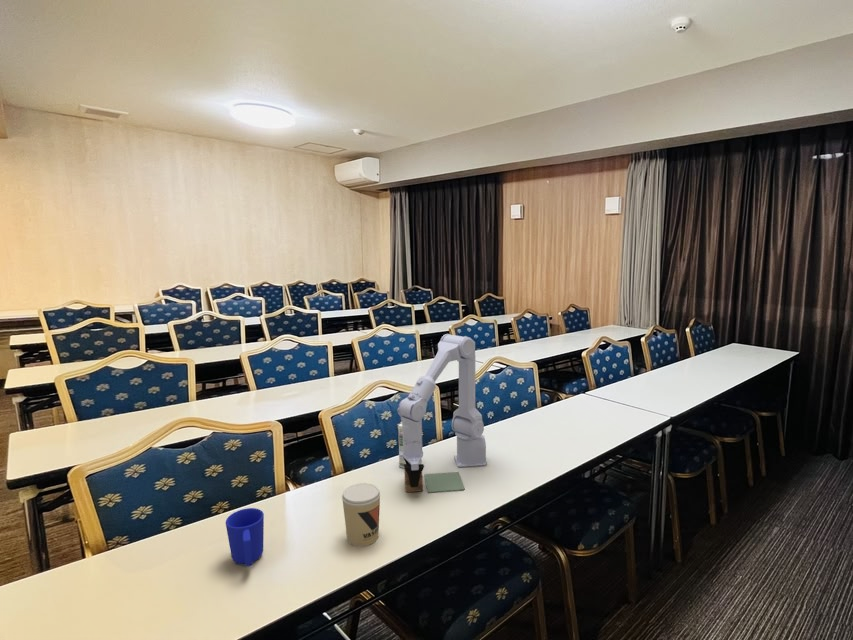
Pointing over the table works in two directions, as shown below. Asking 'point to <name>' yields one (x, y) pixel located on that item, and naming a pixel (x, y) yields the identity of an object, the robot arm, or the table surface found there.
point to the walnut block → (411, 489)
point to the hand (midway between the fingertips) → (413, 481)
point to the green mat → (444, 482)
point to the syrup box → (401, 459)
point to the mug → (246, 535)
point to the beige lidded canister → (361, 513)
